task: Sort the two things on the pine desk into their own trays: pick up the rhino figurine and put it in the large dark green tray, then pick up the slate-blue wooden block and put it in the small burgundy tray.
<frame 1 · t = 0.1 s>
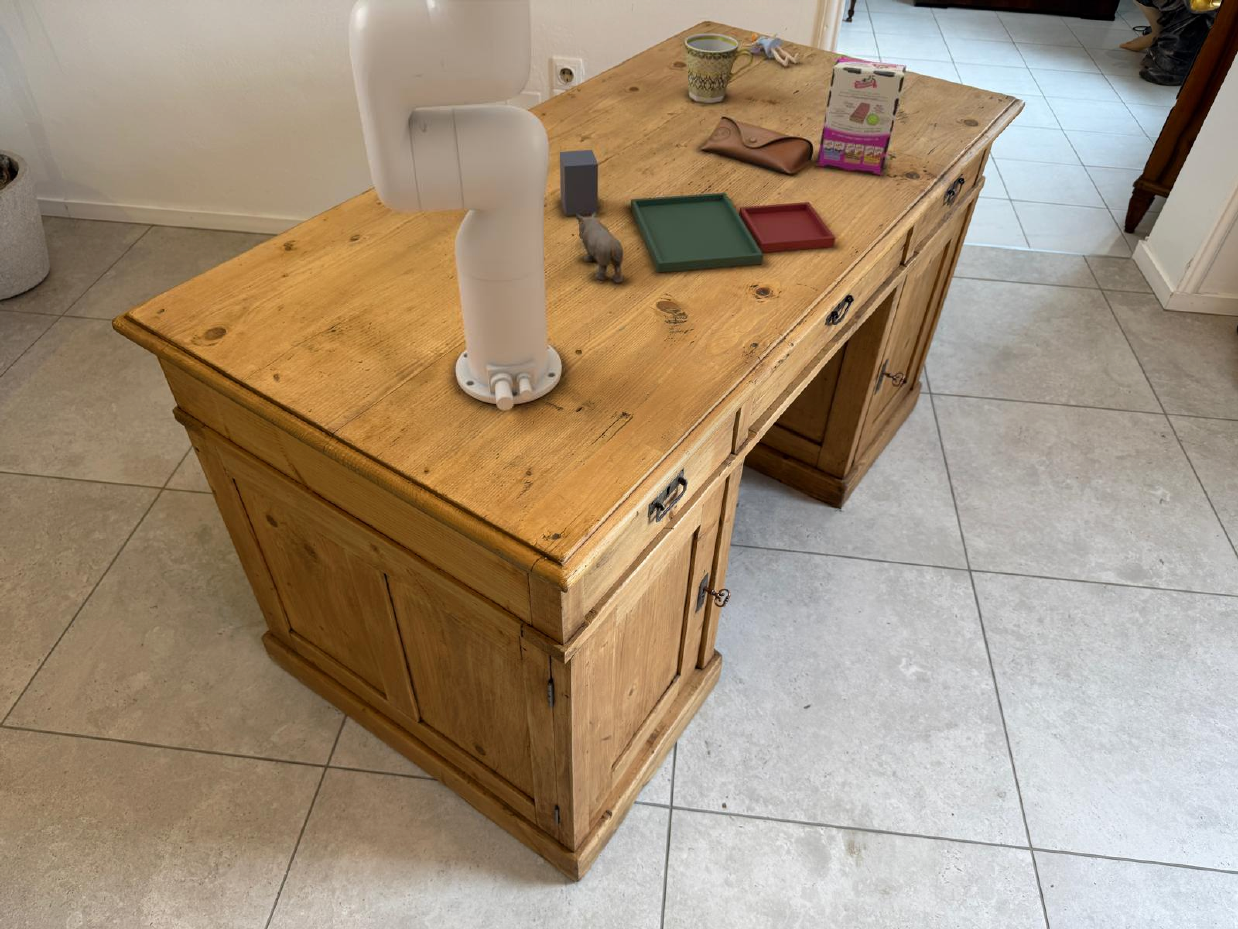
rhino figurine: (597, 261, 125), on the table
burgundy tray: (784, 230, 132), on the table
ceramic cup: (714, 98, 170), on the table
sunglasses case: (754, 156, 152), on the table
block: (579, 207, 136), on the table
green tray: (693, 234, 131), on the table
candy bar box: (849, 166, 150), on the table
fairy figurine: (770, 58, 187), on the table
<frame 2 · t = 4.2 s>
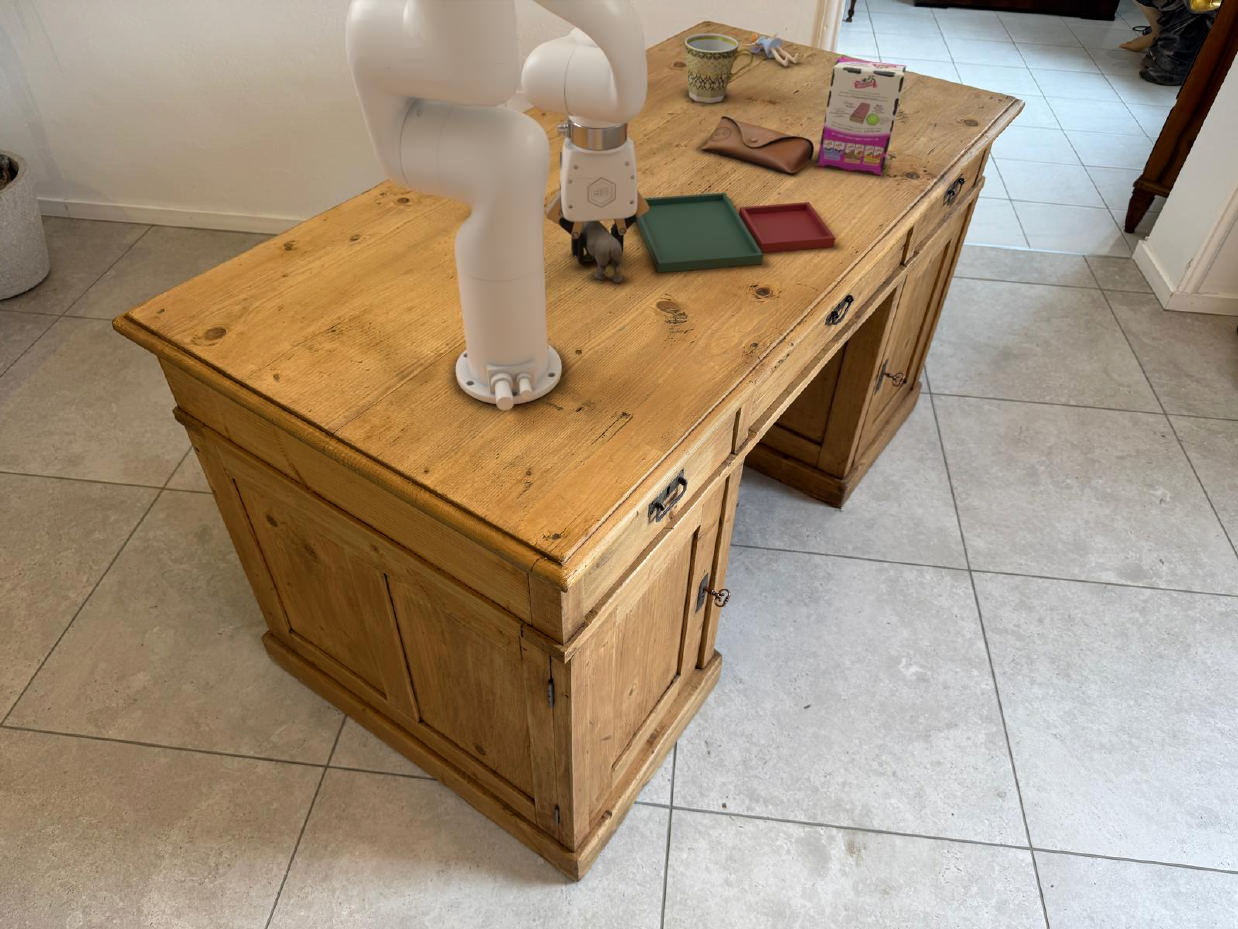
hand: (597, 256, 125), 1 cm above the table, tool pointing down, fingers closed on rhino figurine, 4 cm apart
rhino figurine: (596, 261, 125), on the table, touching gripper
everything else where it was.
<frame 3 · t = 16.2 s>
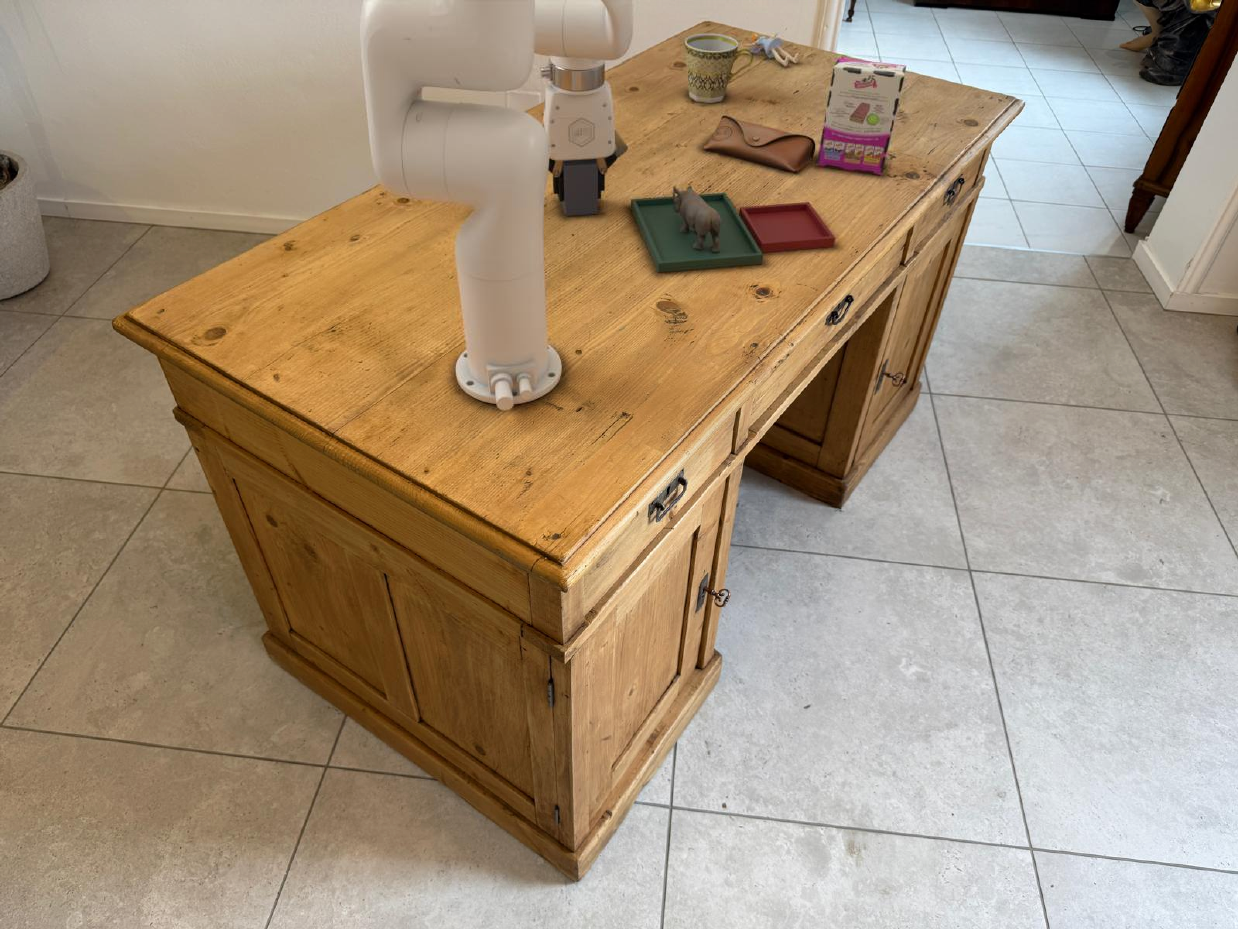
hand: (578, 195, 135), 2 cm above the table, tool pointing down, fingers closed on block, 5 cm apart
rhino figurine: (692, 233, 131), resting on green tray
block: (579, 207, 136), on the table, touching gripper
everything else where it was.
when the fingers open (3 cm above the table, at t = 24.7 s): block stays where it is, resting on burgundy tray.
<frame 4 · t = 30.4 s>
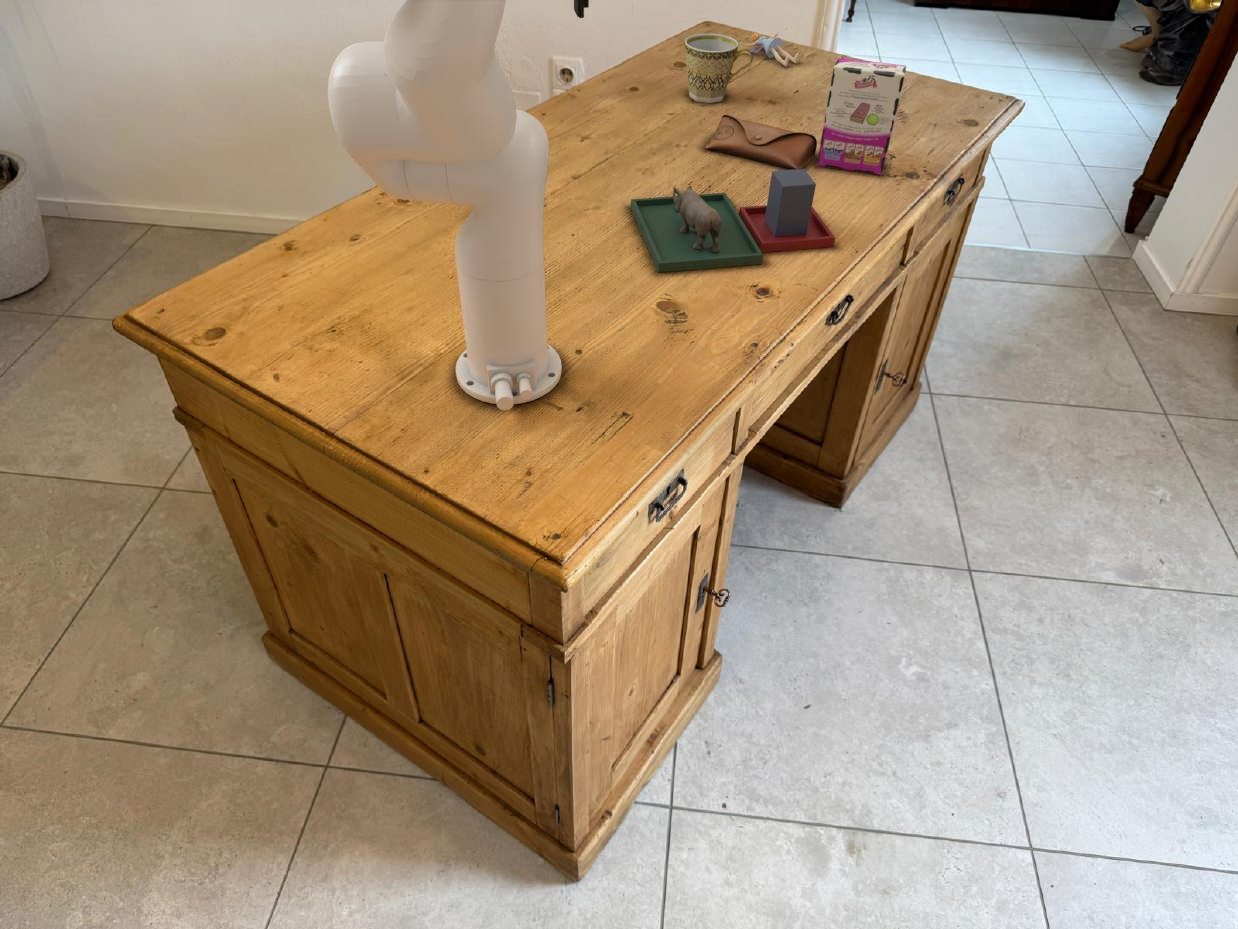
hand: (538, 15, 102), 32 cm above the table, tool pointing down, fingers open, 9 cm apart
block: (785, 227, 132), resting on burgundy tray
at the end: rhino figurine inside the target area in the green tray (0.2 cm from its centre), point 0.3 cm above the green tray's base; block 0.1 cm off-centre in the burgundy tray, point 0.5 cm above the burgundy tray's base; block tilted 0° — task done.
